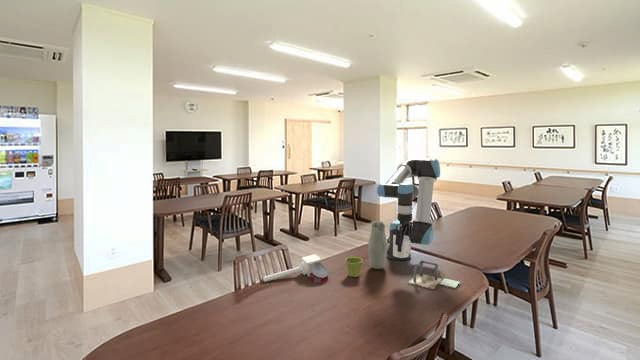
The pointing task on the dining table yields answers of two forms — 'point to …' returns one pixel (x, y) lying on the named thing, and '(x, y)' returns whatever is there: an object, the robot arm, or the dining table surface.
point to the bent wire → (422, 269)
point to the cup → (405, 244)
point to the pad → (449, 283)
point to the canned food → (318, 273)
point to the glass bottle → (377, 245)
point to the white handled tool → (303, 268)
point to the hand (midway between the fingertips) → (403, 255)
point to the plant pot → (354, 266)
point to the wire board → (425, 281)
